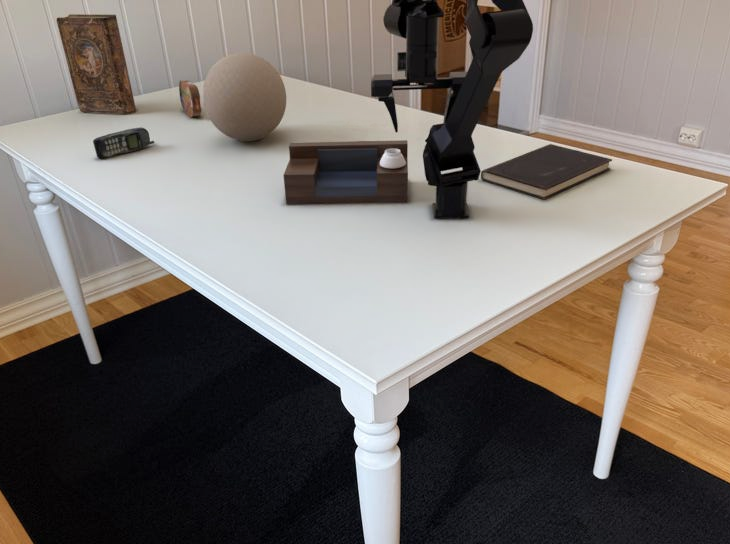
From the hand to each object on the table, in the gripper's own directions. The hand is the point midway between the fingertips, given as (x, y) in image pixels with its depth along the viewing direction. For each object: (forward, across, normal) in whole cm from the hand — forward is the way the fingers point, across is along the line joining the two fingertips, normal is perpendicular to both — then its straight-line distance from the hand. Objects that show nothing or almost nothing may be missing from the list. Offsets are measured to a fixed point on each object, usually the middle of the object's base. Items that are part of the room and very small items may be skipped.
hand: (420, 131), depth 131 cm
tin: (+12, +60, -64) cm, 89 cm away
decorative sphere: (+12, +40, -38) cm, 57 cm away
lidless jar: (+6, +5, +2) cm, 8 cm away
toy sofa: (+12, +14, 0) cm, 19 cm away
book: (+12, +86, -70) cm, 112 cm away
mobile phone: (+12, +69, -31) cm, 77 cm away
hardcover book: (+12, -27, -7) cm, 30 cm away
